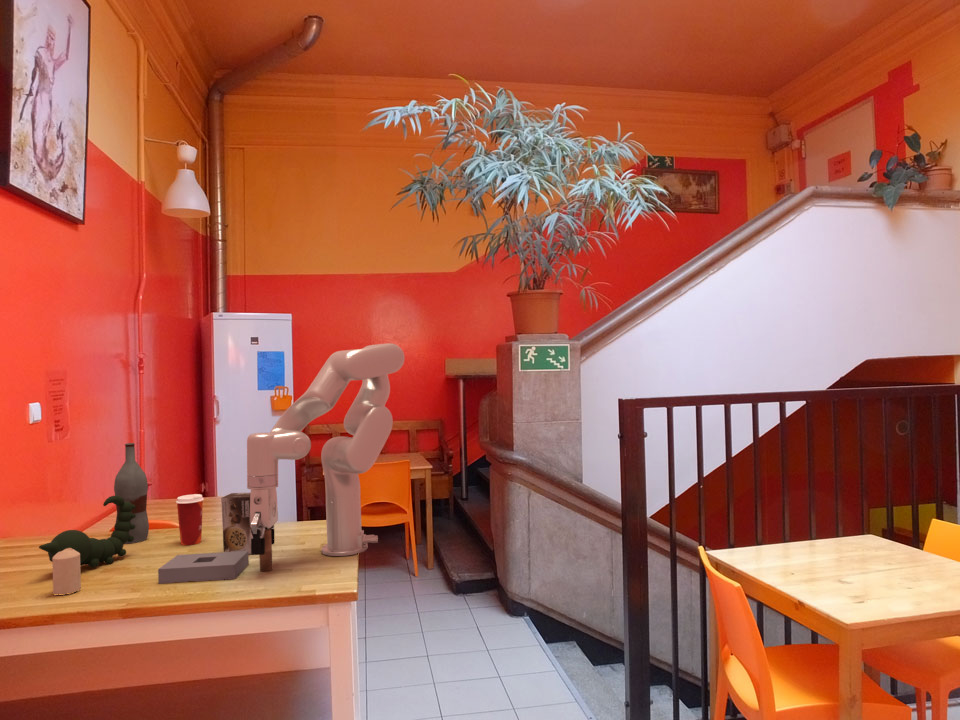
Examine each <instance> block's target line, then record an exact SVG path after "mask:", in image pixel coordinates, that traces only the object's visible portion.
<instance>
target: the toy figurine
mask: <svg viewBox="0 0 960 720" xmlns="http://www.w3.org/2000/svg"><path fill="white" fill-rule="evenodd" d="M109 504H113V505H115V506H116V505H117V506H119V512H118V514H117V513H116V517H117V520H118V521H117V522H116V521H115V523H114V527H113V529H114V530H112V532H111V534H110V536H109V537H107V538H101V539H98V538H96V537H89V536H88V535H87V534H86V532H83V531H81V530H79V529H69V530H64V531H62V532H60V533H58V534H57V535H55V536H54V537H53V539H52V540H51V541H50V542H48V543H44V544H41V545H39V546H38V549H40V550H43V551H44V552H46V553H47V554H48V555H47V556H48V558H49V559H48V560H49V561H50V562H51V563H52V558H53V557H54V556H55V555H56V554H57V553H58V552H61V551H63V550H64V549H67V548H72V549H74V550H75V551H77V552H79V553H80V567H82V566H85V565H86V566H88V567H90V568H92V569H94V568H97V567H98V566H99V564H100V563H105V564H107V565H111V564H112V563H114V556H116V555H117V556H118V557H124V556H126V553H127V550H126V549H125V548H124V545H126V544H125V543H126V542H127V541H128V542H132V541H133V540H134V537H133V536H130V534H129V531H130V529H135V525H134V524H131V522H130V521H131V519H133V518H135V517H136V515H135V514H134V513H132V512H131V511H132V509H134V508H135V505H132V503H130V502H128V501H125V502H124V499H123V497H121V496H117V495H115V494H114V495H111V496H108V498H106V499H105V500H104V501H103V504H102V505H103V507H106V506H107V505H109Z"/></svg>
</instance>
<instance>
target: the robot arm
mask: <svg viewBox="0 0 960 720" xmlns="http://www.w3.org/2000/svg"><path fill="white" fill-rule="evenodd" d="M405 358H406V357H405V353H404V351H403V349H402V347H400V346H399V345H398V344H395V343H392V342H391V343H389V342H388V343H378V344H370V345H366V346H364V347H363V348H357V349H345V350H338V351H337V350H336V351H335V352H333V353H332V354H330V356H329V357H328V358H327V359H326V361H325V363H324V364H323V365H322V367H321V369H320V370H319V371H318V373H317V375H316V376H315V378H314V379H313V381H312V382H311V384H310V385H309V386H308V388H307V390H306V391H305V392H304V393H303V394H301V396H300V397H299V398H297V399H296V400H295V402H293V403H292V404H291V405H290V406H289V407H287V409H285V411H284V412H283V413H282V414H281V415H280V417H279V418H278V419H277V421H276V422H275V424H274V425H273V427H272V429H271V430H270V432H256V433H252V434H251V433H250V434H249V435H248V436H247V439H246V468H247V469H246V470H247V471H246V473H247V474H246V489H248V490H250V493H251V494H250V527H251V528H252V531H251V554H250V555H252V556H260V555H263V554H265V538H263V537H264V531H265V529H271V540H272V545H274V544H275V525H276V523H277V522H278V521H279V514H278V513H279V512H278V511H279V510H278V509H279V508H278V494H277V488H278V487H279V460H290V461H291V460H292V461H293V460H294V461H296V460H301V459H303V458H304V457H306V456H307V455H308V454H309V452H310V451H311V448H312V442H311V439H310V437H309V436H308V435H307V434H306V433H304V432H303V430H304V429H305V428H306V427H307V426H308V424H309V423H311V422H312V421H314V420H315V419H317V418H319V417H322V416H323V415H325V414H327V413H328V412H329V411H331V410H332V409H333V408H334V407H335V405H336V404H337V403H338V401H339V399H340V398H341V396H342V394H343V392H344V391H345V390H346V388H347V387H348V385H349V383H350V382H351V381H360V380H361V381H362V383H361V386H360V388H359V391H358V393H357V395H356V397H355V398H354V400H353V402H352V404H351V405H350V407H349V409H348V410H347V412H346V414H345V416H344V419H343V428H344V430H345V431H346V432H347V433H348V434H349V435H352V437H349V436H342V435H341V436H335V437H332V438H330V439H328V440H327V441H326V442H325V443H324V444H323V446H322V449H321V455H320V457H321V466H322V470H323V476H324V483H325V484H324V485H325V514H326V515H325V517H326V544H324V545H323V546H322V547H321V554H323V555H325V556H328V557H329V556H330V557H345V556H347V557H348V556H353V555H357V553H358V554H361V553H364V552H365V551H366V550H367V549H369V546H368V544H369V543H371V544H376V543H379V536H378V535H375V534H366V533H365V530H364V529H362V505H361V503H362V501H361V482H360V477H359V475H360V474H365V473H366V472H368V471H369V470H370V469H371V468H372V467H373V466H374V464H375V463H376V461H377V459H378V457H379V455H380V454H381V452H382V450H383V448H384V446H385V444H386V443H387V440H388V438H389V437H390V434H391V432H392V429H393V422H394V420H393V415H392V412H391V411H390V409H389V408H388V407H387V406H386V403H387V402H388V399H389V398H390V394H391V384H390V379H389V375H390V374H394V373H397V372H398V371H400V369H402V367H403V366H404V363H405ZM260 530H261V533H260Z"/></svg>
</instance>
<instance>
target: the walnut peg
mask: <svg viewBox="0 0 960 720" xmlns="http://www.w3.org/2000/svg"><path fill="white" fill-rule="evenodd" d="M260 533H261V530H260ZM263 538H265V554H263V555H259V571H260V572H262V573H266V572H271V571H272V570H273V548H272V545H273V544H272V540H271V529H265V531H264V537H263Z"/></svg>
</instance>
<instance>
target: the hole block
mask: <svg viewBox="0 0 960 720" xmlns="http://www.w3.org/2000/svg"><path fill="white" fill-rule="evenodd" d="M249 562H250V561H249V554H248V551H237V552H224V551H223V552H207V553H205V552H203V553H189V554H188V553H185V554H176V556H173V558H171V559H170V560H169V561H167V562H166V563H164V564H163V565H161V567H159V568H158V569H157V571H158V574H157V575H158V577H157V578H158V584H175V583H174V582H178V583H189V582H188V581H195V582H207V581H209V580H211V581H223V580H224V579H225V580H227V581H228V580H236V579H237V577H238V576H239V575H240V574H241V573H242V572H243V571H244V570H245V569H246V568H247V567H248V566H249Z"/></svg>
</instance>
